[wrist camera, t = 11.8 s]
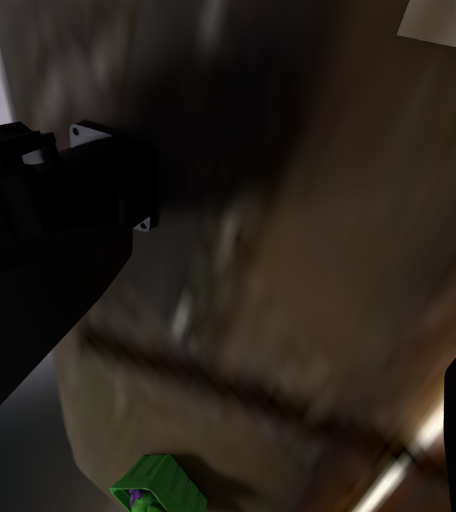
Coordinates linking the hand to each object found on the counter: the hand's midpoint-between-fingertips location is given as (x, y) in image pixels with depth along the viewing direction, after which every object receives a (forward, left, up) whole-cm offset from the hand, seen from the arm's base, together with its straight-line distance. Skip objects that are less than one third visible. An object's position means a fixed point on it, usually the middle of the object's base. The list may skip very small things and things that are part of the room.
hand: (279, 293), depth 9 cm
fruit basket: (-5, -43, -13) cm, 45 cm away
